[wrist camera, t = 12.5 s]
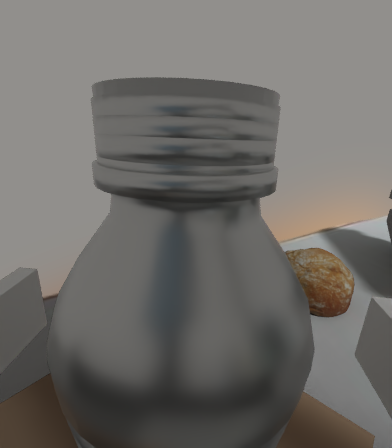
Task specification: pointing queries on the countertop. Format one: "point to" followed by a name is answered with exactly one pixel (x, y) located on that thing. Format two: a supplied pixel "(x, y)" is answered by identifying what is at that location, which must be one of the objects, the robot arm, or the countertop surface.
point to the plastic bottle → (181, 277)
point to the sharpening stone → (390, 220)
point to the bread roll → (323, 280)
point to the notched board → (65, 444)
